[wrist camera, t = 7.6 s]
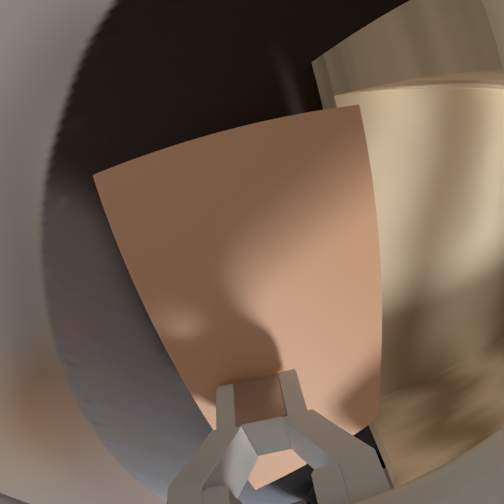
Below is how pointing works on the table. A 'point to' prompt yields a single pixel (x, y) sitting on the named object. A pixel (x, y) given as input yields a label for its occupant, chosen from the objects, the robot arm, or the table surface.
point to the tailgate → (260, 262)
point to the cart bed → (433, 219)
